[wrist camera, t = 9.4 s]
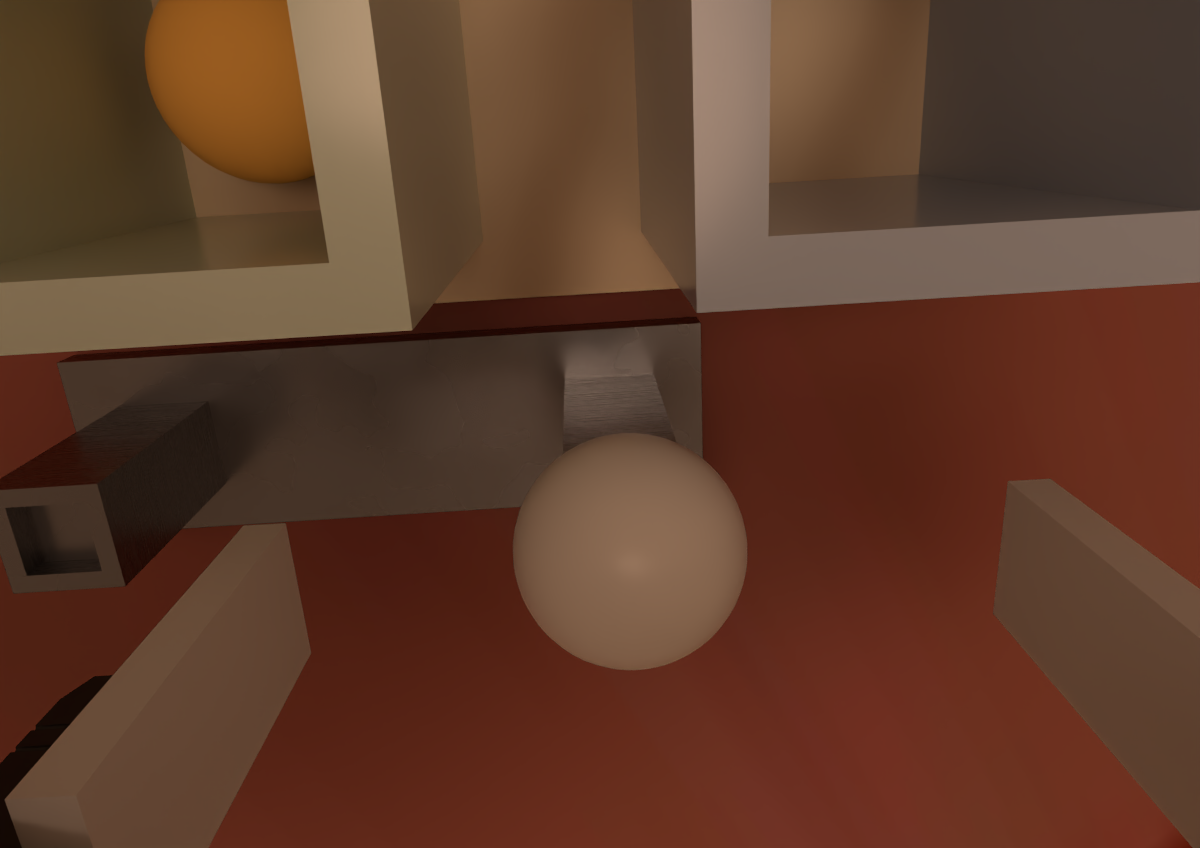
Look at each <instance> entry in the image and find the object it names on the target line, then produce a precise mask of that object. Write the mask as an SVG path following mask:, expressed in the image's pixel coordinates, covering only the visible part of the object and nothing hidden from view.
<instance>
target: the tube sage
mask: <svg viewBox="0 0 1200 848" xmlns="http://www.w3.org/2000/svg"><path fill="white" fill-rule="evenodd" d="M287 5H288V11H289V17H290V23H291V30H292V36H293V42H294V48H295V54H296V60H297V67H298V73H299V79H300V85H301V91H302V98H303V104H304V110H305V116H306V122H307V128H308V135H309V141H310V147H311V153H312V159H313V166H314V172H315V178H316V184H317V190H318V197H319V203H320V209H321V210H310V211H293V212H276V213H259V214H242V215H226V216H209V217H196V212H195V207H194V202H193V198H192V193H191V188H190V183H189V179H188V174H187V169H186V164H185V160H184V155H183V150H182V145H181V141H180V140H179V139H178V138H177V137H176V136H175V134H174V133H173V132H172V131H171V129H170V128H169V126H168V125H167V124H166V122H165V121H164V119H163V117H162V116H161V114H160V112H159V110H158V108H157V106H156V104H155V101H154V99H153V96H152V94H151V91H150V87H149V84H148V80H147V74H146V68H145V40H146V34H147V29H148V25H149V21H150V19H151V16H152V14H153V7H152V3H151V0H0V356H4V355H20V354H37V353H53V352H69V351H85V350H102V349H118V348H134V347H151V346H167V345H183V344H199V343H216V342H232V341H248V340H265V339H281V338H297V337H314V336H330V335H346V334H362V333H379V332H395V331H411V330H413V329H414V328H415V326H416V325H417V324H418V323H419V321H420V320H421V319H422V318H423V316H424V315H425V314H426V313H427V311H428V310H429V309H430V308H431V306H432V305H433V304H434V303H435V301H436V300H437V299H438V297H439V296H440V295H441V294H442V292H443V291H444V290H445V289H446V287H447V286H448V285H449V284H450V282H451V281H452V280H453V279H454V277H455V276H456V275H457V274H458V272H459V271H460V270H461V269H462V267H463V266H464V265H465V263H466V262H467V261H468V260H469V258H470V257H471V256H472V255H473V253H474V252H475V251H476V250H477V248H478V247H479V246H480V245H481V243H482V242H483V234H482V224H481V214H480V204H479V194H478V184H477V174H476V164H475V154H474V144H473V134H472V124H471V114H470V104H469V94H468V84H467V74H466V64H465V54H464V44H463V34H462V24H461V14H460V4H459V0H287Z"/></svg>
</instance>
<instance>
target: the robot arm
mask: <svg viewBox="0 0 1200 848" xmlns="http://www.w3.org/2000/svg"><path fill="white" fill-rule="evenodd" d="M993 614H994V615H995V616H996V618H997V619H998V620H999V621H1000V622H1001V623H1002V625H1003V626H1004V627H1005V628H1006V629H1007V630H1008V632H1009V633H1010V634H1011V635H1012V636H1013V637H1014V639H1015V640H1016V641H1017V642H1018V643H1019V644H1020V646H1021V647H1022V648H1023V649H1024V650H1025V652H1026V653H1027V654H1028V655H1029V656H1030V657H1031V659H1032V660H1033V661H1034V662H1035V663H1036V664H1037V666H1038V667H1039V668H1040V669H1041V670H1042V671H1043V673H1044V674H1045V675H1046V676H1047V677H1048V678H1049V680H1050V681H1051V682H1052V683H1053V684H1054V685H1055V687H1056V688H1057V689H1058V690H1059V691H1060V693H1061V694H1062V695H1063V696H1064V697H1065V698H1066V700H1067V701H1068V702H1069V703H1070V704H1071V705H1072V707H1073V708H1074V709H1075V710H1076V711H1077V712H1078V714H1079V715H1080V716H1081V717H1082V718H1083V719H1084V721H1085V722H1086V723H1087V724H1088V725H1089V727H1090V728H1091V729H1092V730H1093V731H1094V732H1095V734H1096V735H1097V736H1098V737H1099V738H1100V739H1101V741H1102V742H1103V743H1104V744H1105V745H1106V746H1107V748H1108V749H1109V750H1110V751H1111V752H1112V753H1113V755H1114V756H1115V757H1116V758H1117V759H1118V760H1119V762H1120V763H1121V764H1122V765H1123V766H1124V768H1125V769H1126V770H1127V771H1128V772H1129V773H1130V775H1131V776H1132V777H1133V778H1134V779H1135V780H1136V782H1137V783H1138V784H1139V785H1140V786H1141V787H1142V789H1143V790H1144V791H1145V792H1146V793H1147V794H1148V796H1149V797H1150V798H1151V799H1152V800H1153V802H1154V803H1155V804H1156V805H1157V806H1158V807H1159V809H1160V810H1161V811H1162V812H1163V813H1164V814H1165V816H1166V817H1167V818H1168V819H1169V820H1170V821H1171V823H1172V824H1173V825H1174V826H1175V827H1176V828H1177V830H1178V831H1179V832H1180V833H1181V834H1182V835H1183V837H1184V838H1185V839H1186V840H1187V841H1188V843H1189V844H1190V845H1191V846H1192V847H1193V848H1200V589H1199V588H1197V587H1196V586H1195V585H1193V584H1192V583H1190V582H1189V581H1188V580H1186V579H1185V578H1184V577H1182V576H1181V575H1180V574H1178V573H1177V572H1176V571H1174V570H1173V569H1172V568H1170V567H1169V566H1167V565H1166V564H1165V563H1163V562H1162V561H1161V560H1159V559H1158V558H1157V557H1155V556H1154V555H1153V554H1151V553H1150V552H1149V551H1147V550H1146V549H1144V548H1143V547H1142V546H1140V545H1139V544H1138V543H1136V542H1135V541H1134V540H1132V539H1131V538H1130V537H1128V536H1127V535H1126V534H1124V533H1123V532H1121V531H1120V530H1119V529H1117V528H1116V527H1115V526H1113V525H1112V524H1111V523H1109V522H1108V521H1107V520H1105V519H1104V518H1103V517H1101V516H1100V515H1098V514H1097V513H1096V512H1094V511H1093V510H1092V509H1090V508H1089V507H1088V506H1086V505H1085V504H1084V503H1082V502H1081V501H1080V500H1078V499H1077V498H1075V497H1074V496H1073V495H1071V494H1070V493H1069V492H1067V491H1066V490H1065V489H1063V488H1062V487H1061V486H1059V485H1058V484H1056V483H1055V482H1054V481H1052V480H1051V479H1039V480H1022V481H1008V486H1007V494H1006V503H1005V512H1004V521H1003V530H1002V539H1001V548H1000V557H999V566H998V575H997V583H996V592H995V601H994V610H993ZM310 654H311V649H310V644H309V639H308V634H307V629H306V624H305V619H304V614H303V608H302V603H301V598H300V593H299V588H298V583H297V578H296V573H295V568H294V563H293V558H292V553H291V547H290V542H289V537H288V532H287V527H286V523H280V524H262V525H245V526H243V527H242V528H241V529H240V530H239V531H238V533H237V534H236V535H235V536H234V537H233V538H232V540H231V541H230V542H229V543H228V544H227V545H226V546H225V548H224V549H223V550H222V551H221V552H220V553H219V554H218V556H217V557H216V558H215V559H214V560H213V561H212V562H211V564H210V565H209V566H208V567H207V568H206V569H205V570H204V572H203V573H202V574H201V575H200V576H199V577H198V578H197V580H196V581H195V582H194V583H193V584H192V585H191V586H190V588H189V589H188V590H187V591H186V592H185V593H184V595H183V596H182V597H181V598H180V599H179V600H178V601H177V603H176V604H175V605H174V606H173V607H172V608H171V609H170V611H169V612H168V613H167V614H166V615H165V616H164V617H163V619H162V620H161V621H160V622H159V623H158V624H157V625H156V627H155V628H154V629H153V630H152V631H151V632H150V633H149V635H148V636H147V637H146V638H145V639H144V640H143V641H142V643H141V644H140V645H139V646H138V647H137V648H136V650H135V651H134V652H133V653H132V654H131V655H130V656H129V658H128V659H127V660H126V661H125V662H124V663H123V664H122V666H121V667H120V668H119V669H118V670H117V671H116V672H115V674H114V675H110V676H94V677H93V678H91V679H90V680H88V681H87V682H85V683H84V684H82V685H81V686H79V687H78V688H76V689H75V690H73V691H72V692H70V693H69V694H67V695H66V696H64V697H63V698H61V699H60V700H59V701H58V702H57V703H56V704H55V705H54V706H53V707H52V709H51V710H50V711H49V712H48V713H47V714H46V715H45V716H44V717H43V718H42V719H41V720H40V721H39V723H38V724H37V725H36V729H35V730H33V731H30V732H29V733H28V734H27V735H26V737H25V738H24V739H23V740H22V741H21V742H20V743H19V744H18V745H17V746H16V751H15V752H11V753H10V754H9V755H8V756H7V757H6V758H5V759H4V760H3V761H2V762H1V763H0V848H209V846H210V844H211V842H212V840H213V838H214V836H215V834H216V832H217V830H218V829H219V827H220V825H221V823H222V821H223V819H224V817H225V815H226V813H227V812H228V810H229V808H230V806H231V804H232V802H233V800H234V798H235V796H236V794H237V793H238V791H239V789H240V787H241V785H242V783H243V781H244V779H245V777H246V776H247V774H248V772H249V770H250V768H251V766H252V764H253V762H254V760H255V758H256V757H257V755H258V753H259V751H260V749H261V747H262V745H263V743H264V741H265V740H266V738H267V736H268V734H269V732H270V730H271V728H272V726H273V724H274V722H275V721H276V719H277V717H278V715H279V713H280V711H281V709H282V707H283V705H284V704H285V702H286V700H287V698H288V696H289V694H290V692H291V690H292V688H293V686H294V685H295V683H296V681H297V679H298V677H299V675H300V673H301V671H302V669H303V668H304V666H305V664H306V662H307V660H308V658H309V656H310Z"/></svg>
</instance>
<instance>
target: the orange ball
mask: <svg viewBox="0 0 1200 848" xmlns="http://www.w3.org/2000/svg"><path fill="white" fill-rule="evenodd" d="M145 68H146V74H147V80H148V84H149V87H150V91H151V94H152V96H153V99H154V101H155V104H156V106H157V108H158V110H159V112H160V114H161V116H162V117H163V119H164V121H165V122H166V124H167V125H168V126H169V128H170V129H171V131H172V132H173V133H174V134H175V136H176V137H177V138H178V139H179V140H180V141H181V142H182V143H183V144H184V145H185V146H186V147H187V148H188V149H189V150H190V151H191V152H192V153H194V154H195V155H196V156H197V157H199V158H200V159H201V160H203V161H204V162H206V163H207V164H209V165H210V166H212V167H214V168H216V169H218V170H219V171H222V172H224V173H227V174H229V175H231V176H234V177H236V178H240V179H243V180H247V181H251V182H258V183H277V184H282V183H290V182H296V181H299V180H303V179H307V178H309V177H311V176H314V175H315V172H314V166H313V159H312V153H311V147H310V141H309V135H308V128H307V122H306V116H305V110H304V104H303V98H302V91H301V85H300V79H299V73H298V67H297V60H296V54H295V48H294V42H293V36H292V30H291V23H290V17H289V11H288V5H287V0H159V2H158V4H157V5H156V7H155V9H154V11H153V14H152V16H151V19H150V21H149V25H148V29H147V34H146V40H145Z"/></svg>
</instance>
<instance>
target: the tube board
mask: <svg viewBox="0 0 1200 848" xmlns="http://www.w3.org/2000/svg"><path fill="white" fill-rule="evenodd" d="M158 2H159V0H151V3H152V7H153V11H154V9H155V7H156V5H157V4H158ZM459 4H460V14H461V24H462V34H463V44H464V54H465V64H466V74H467V84H468V94H469V104H470V114H471V124H472V134H473V144H474V154H475V164H476V174H477V184H478V194H479V204H480V214H481V224H482V234H483V242H482V243H481V245H480V246H479V247H478V248H477V250H476V251H475V252H474V253H473V255H472V256H471V257H470V258H469V260H468V261H467V262H466V263H465V265H464V266H463V267H462V269H461V270H460V271H459V272H458V274H457V275H456V276H455V277H454V279H453V280H452V281H451V282H450V284H449V285H448V286H447V287H446V289H445V290H444V291H443V292H442V294H441V295H440V296H439V297H438V299H437V300H436V301H435V303H448V302H464V301H481V300H497V299H513V298H530V297H546V296H563V295H579V294H595V293H612V292H628V291H645V290H661V289H677V288H679V286H678V285H677V283H676V282H675V280H674V279H673V277H672V276H671V275H670V273H669V272H668V270H667V269H666V267H665V266H664V264H663V263H662V261H661V260H660V258H659V257H658V256H657V254H656V253H655V251H654V250H653V248H652V247H651V245H650V244H649V242H648V241H647V240H646V238H645V237H644V235H643V234H642V232H641V215H640V189H639V163H638V137H637V111H636V85H635V59H634V32H633V6H632V0H459ZM929 14H930V0H771V52H770V141H769V183H779V182H796V181H813V180H830V179H846V178H863V177H880V176H897V175H914V174H919V160H920V145H921V131H922V116H923V101H924V87H925V72H926V57H927V43H928V28H929ZM181 145H182V150H183V155H184V160H185V164H186V169H187V174H188V179H189V183H190V188H191V193H192V198H193V202H194V207H195V212H196V217H209V216H226V215H242V214H259V213H276V212H293V211H310V210H321V209H320V203H319V197H318V190H317V184H316V178H315V175H314V176H311V177H309V178H307V179H303V180H299V181H296V182H290V183H282V184H277V183H258V182H251V181H247V180H243V179H240V178H236V177H234V176H231V175H229V174H227V173H224V172H222V171H219V170H218V169H216V168H214V167H212V166H210V165H209V164H207V163H206V162H204V161H203V160H201V159H200V158H199V157H197V156H196V155H195V154H194V153H192V152H191V151H190V150H189V149H188V148H187V147H186V146H185V145H184V144H183V143H182V142H181Z"/></svg>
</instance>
